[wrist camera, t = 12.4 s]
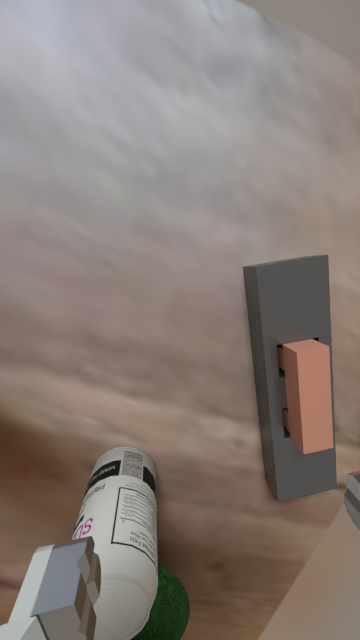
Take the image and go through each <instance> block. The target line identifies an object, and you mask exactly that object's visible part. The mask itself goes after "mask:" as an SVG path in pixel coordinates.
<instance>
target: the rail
mask: <svg viewBox="0 0 360 640" xmlns="http://www.w3.org/2000/svg"><path fill="white" fill-rule="evenodd" d="M243 268H244V278H245V287H246V297H247V307H248V316H249V326H250V336H251V345H252V355H253V364H254V374H255V384H256V393H257V403H258V413H259V422H260V432H261V442H262V451H263V461H264V471H265V478H266V480H267V482H268V484H269V486H270V487H271V489H272V491H273V493H274V495H275V497H276V499H277V500H278V502H280V501H284V500H289V499H293V498H297V497H302V496H306V495H310V494H315V493H319V492H323V491H328V490H332V489H336V488H337V479H336V453H335V426H334V400H333V373H332V346H331V320H330V293H329V266H328V255H319V256H306V257H300V258H294V259H288V260H282V261H276V262H269V263H263V264H257V265H251V266H245V267H243ZM308 339H313V340H316V341H318V342H320V343H322V344H325V345H327V346H329V354H330V378H331V403H332V427H333V448H330V449H326V450H321V451H317V452H312V453H308V454H303V453H302V452H301V451H300V449H299V448H298V447H297V446H296V444H295V443H294V442H293V441H292V439H291V438H290V433H289V431H288V430H287V429H286V427H285V426H284V425H283V416H282V409H284V408H287V395H286V383H285V371H284V370H283V369H281V368H280V367H279V366H278V355H277V345H280V344H285V343H291V342H296V341H301V340H308Z"/></svg>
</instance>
